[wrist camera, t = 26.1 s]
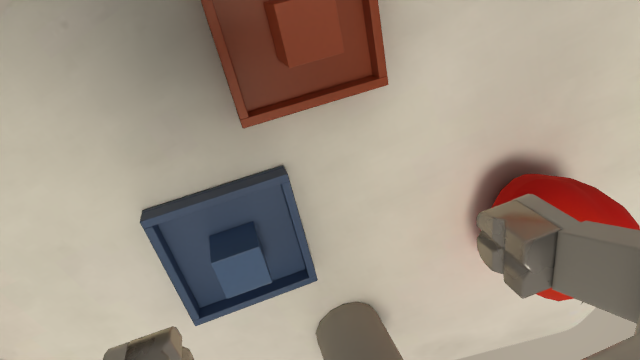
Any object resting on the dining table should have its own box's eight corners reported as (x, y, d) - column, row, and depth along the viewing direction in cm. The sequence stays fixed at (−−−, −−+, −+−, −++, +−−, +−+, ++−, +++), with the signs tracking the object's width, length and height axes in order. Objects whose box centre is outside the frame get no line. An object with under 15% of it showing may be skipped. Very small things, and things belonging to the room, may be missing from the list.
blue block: (208, 236, 39) (210, 263, 35) (252, 220, 39) (259, 246, 35) (223, 269, 41) (226, 299, 37) (265, 255, 41) (272, 282, 38)
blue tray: (142, 210, 36) (139, 222, 34) (283, 165, 38) (287, 173, 36) (195, 312, 43) (195, 326, 41) (312, 268, 45) (317, 280, 43)
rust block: (263, 2, 31) (273, 4, 27) (316, -11, 32) (333, -11, 28) (277, 59, 33) (289, 68, 29) (327, 45, 34) (344, 52, 30)
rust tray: (183, -52, 29) (183, -54, 27) (356, -90, 31) (366, -95, 29) (240, 121, 35) (242, 128, 33) (379, 80, 37) (388, 84, 35)
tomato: (573, 200, 52) (684, 262, 41) (495, 269, 54) (580, 348, 42) (529, 124, 45) (650, 172, 33) (439, 206, 46) (524, 282, 34)
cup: (348, 292, 48) (382, 359, 39) (389, 316, 52) (429, 382, 43) (303, 339, 49) (326, 414, 40) (346, 359, 53) (377, 431, 44)
